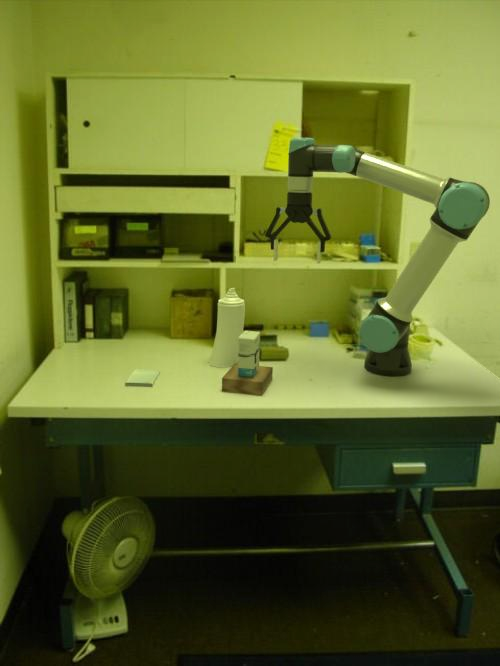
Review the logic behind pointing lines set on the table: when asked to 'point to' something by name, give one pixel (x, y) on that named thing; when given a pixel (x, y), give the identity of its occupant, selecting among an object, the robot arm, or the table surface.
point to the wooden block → (247, 381)
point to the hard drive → (143, 378)
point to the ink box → (248, 353)
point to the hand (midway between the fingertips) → (296, 261)
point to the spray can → (228, 330)
